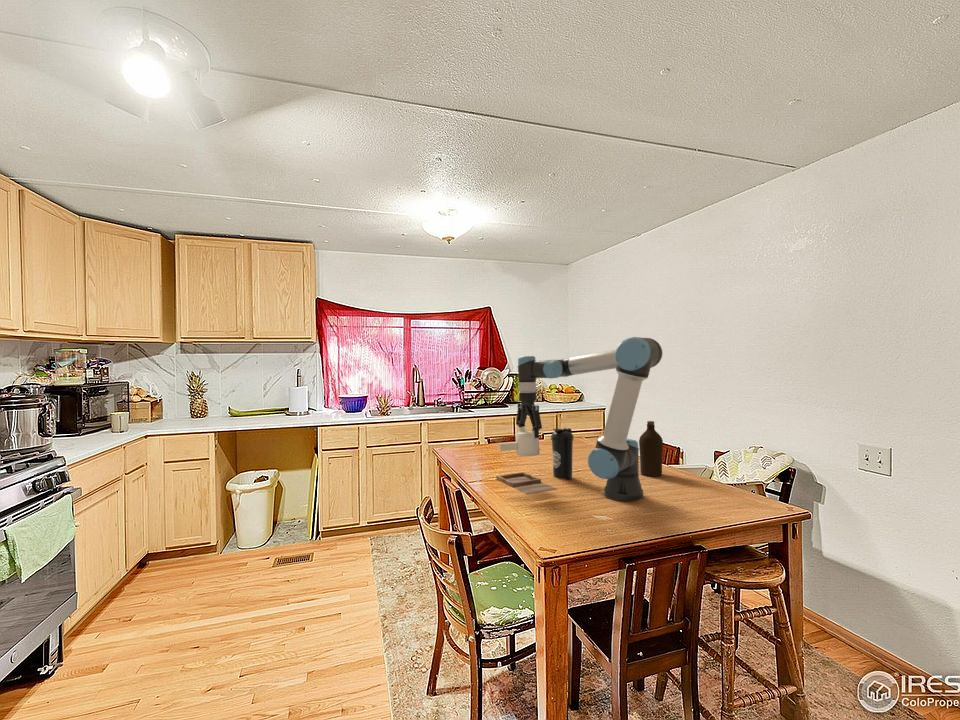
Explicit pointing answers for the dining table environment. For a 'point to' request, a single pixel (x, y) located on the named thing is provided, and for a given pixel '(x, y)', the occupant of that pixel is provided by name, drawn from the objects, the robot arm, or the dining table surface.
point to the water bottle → (562, 453)
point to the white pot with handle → (521, 444)
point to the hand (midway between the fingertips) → (529, 443)
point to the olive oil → (651, 452)
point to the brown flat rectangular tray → (525, 483)
